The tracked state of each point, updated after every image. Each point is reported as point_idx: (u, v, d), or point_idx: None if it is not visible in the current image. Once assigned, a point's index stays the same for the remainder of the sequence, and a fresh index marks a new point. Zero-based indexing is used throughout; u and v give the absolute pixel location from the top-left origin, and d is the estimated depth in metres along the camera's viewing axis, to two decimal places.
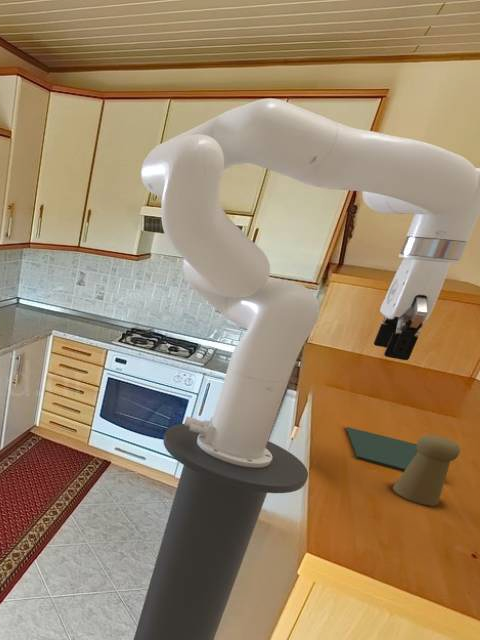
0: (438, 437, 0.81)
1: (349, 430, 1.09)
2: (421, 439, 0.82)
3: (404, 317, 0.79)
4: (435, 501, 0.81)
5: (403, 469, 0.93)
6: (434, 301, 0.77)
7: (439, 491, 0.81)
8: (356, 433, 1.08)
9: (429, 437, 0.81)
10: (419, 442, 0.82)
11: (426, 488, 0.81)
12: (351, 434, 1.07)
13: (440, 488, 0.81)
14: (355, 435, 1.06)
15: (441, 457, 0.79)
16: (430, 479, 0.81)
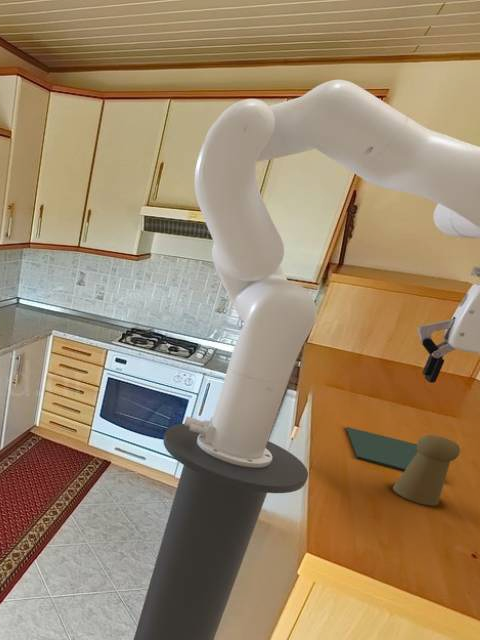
0: (438, 437, 0.81)
1: (349, 430, 1.09)
2: (421, 439, 0.82)
3: None
4: (435, 501, 0.81)
5: (403, 469, 0.93)
6: None
7: (439, 491, 0.81)
8: (356, 433, 1.08)
9: (429, 437, 0.81)
10: (419, 442, 0.82)
11: (426, 488, 0.81)
12: (351, 434, 1.07)
13: (440, 488, 0.81)
14: (355, 435, 1.06)
15: (441, 457, 0.79)
16: (430, 479, 0.81)
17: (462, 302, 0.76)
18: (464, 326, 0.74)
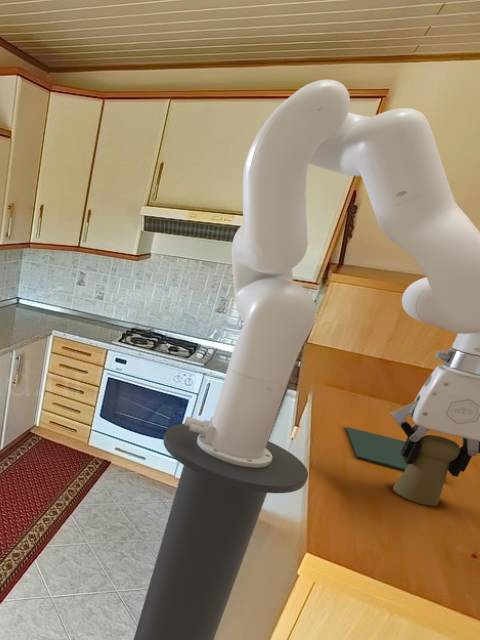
0: (438, 437, 0.81)
1: (349, 430, 1.09)
2: (421, 439, 0.82)
3: None
4: (435, 501, 0.81)
5: (403, 469, 0.93)
6: None
7: (439, 491, 0.81)
8: (356, 433, 1.08)
9: (429, 437, 0.81)
10: None
11: (426, 488, 0.81)
12: (351, 434, 1.07)
13: (440, 488, 0.81)
14: (355, 435, 1.06)
15: (441, 458, 0.79)
16: (430, 479, 0.81)
17: (427, 382, 0.80)
18: (427, 406, 0.78)
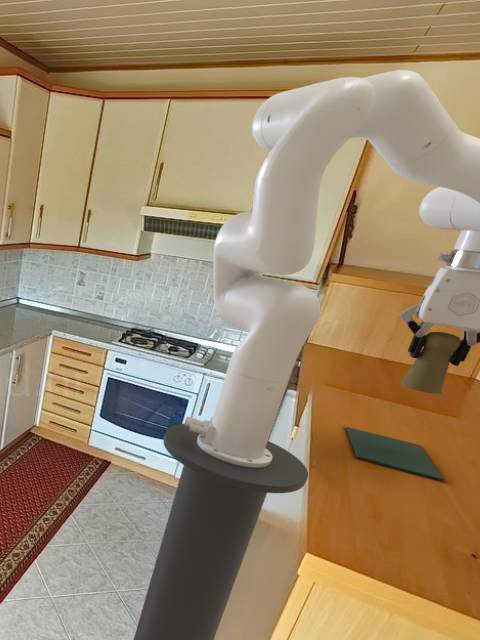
0: (441, 332, 0.91)
1: (349, 430, 1.09)
2: (426, 335, 0.92)
3: None
4: (438, 389, 0.92)
5: (403, 469, 0.93)
6: None
7: (442, 380, 0.91)
8: (356, 433, 1.08)
9: (433, 332, 0.91)
10: None
11: (430, 377, 0.91)
12: (351, 434, 1.07)
13: (443, 377, 0.91)
14: (355, 435, 1.06)
15: (444, 348, 0.90)
16: (434, 369, 0.91)
17: (431, 283, 0.91)
18: (431, 302, 0.89)
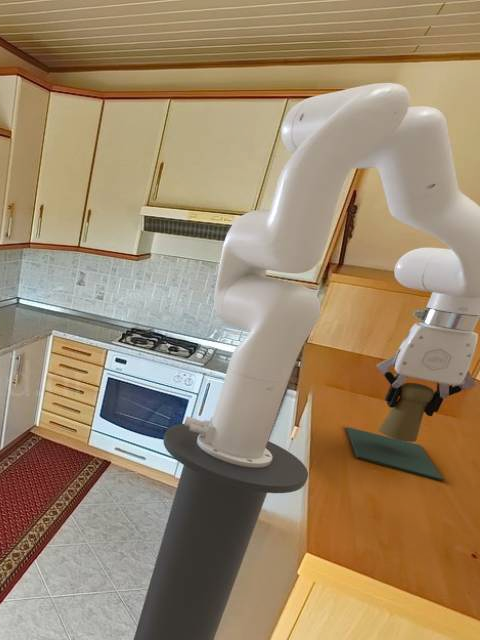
0: (416, 384, 0.96)
1: (349, 430, 1.09)
2: (402, 386, 0.97)
3: None
4: (413, 438, 0.96)
5: (403, 469, 0.93)
6: None
7: (417, 429, 0.96)
8: (356, 433, 1.08)
9: (408, 384, 0.96)
10: (400, 388, 0.97)
11: (406, 426, 0.96)
12: (351, 434, 1.07)
13: (418, 427, 0.96)
14: (355, 435, 1.06)
15: (418, 400, 0.94)
16: (409, 419, 0.96)
17: (406, 337, 0.95)
18: (406, 357, 0.93)
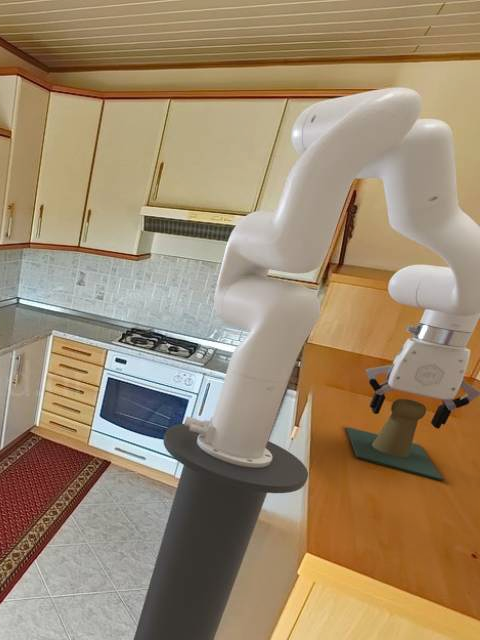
0: (408, 400, 0.97)
1: (349, 430, 1.09)
2: (394, 402, 0.98)
3: None
4: (406, 453, 0.98)
5: (403, 469, 0.93)
6: None
7: (409, 445, 0.97)
8: (356, 433, 1.08)
9: (400, 400, 0.97)
10: (393, 405, 0.98)
11: (398, 442, 0.97)
12: (351, 434, 1.07)
13: (410, 442, 0.97)
14: (355, 435, 1.06)
15: (410, 416, 0.95)
16: (401, 435, 0.97)
17: (400, 352, 0.96)
18: (399, 371, 0.94)
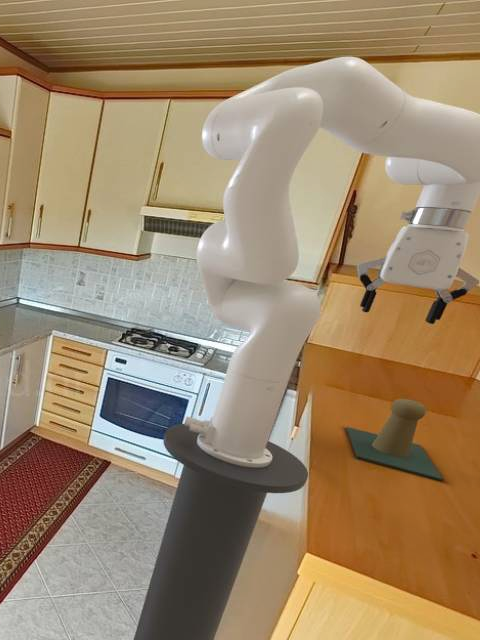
0: (408, 400, 0.97)
1: (349, 430, 1.09)
2: (394, 402, 0.98)
3: None
4: (406, 453, 0.98)
5: (403, 469, 0.93)
6: None
7: (409, 445, 0.97)
8: (356, 433, 1.08)
9: (400, 400, 0.97)
10: (393, 405, 0.98)
11: (398, 442, 0.97)
12: (351, 434, 1.07)
13: (410, 442, 0.97)
14: (355, 435, 1.06)
15: (410, 416, 0.95)
16: (401, 435, 0.97)
17: (393, 243, 0.90)
18: (392, 261, 0.88)
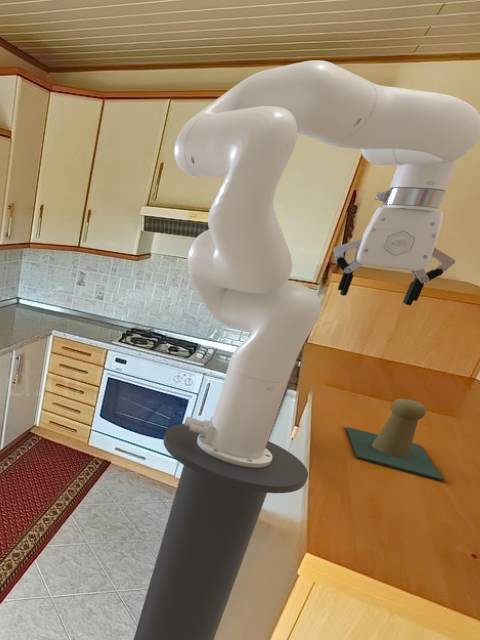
0: (408, 400, 0.97)
1: (349, 430, 1.09)
2: (394, 402, 0.98)
3: None
4: (406, 453, 0.98)
5: (403, 469, 0.93)
6: None
7: (409, 445, 0.97)
8: (356, 433, 1.08)
9: (400, 400, 0.97)
10: (393, 405, 0.98)
11: (398, 442, 0.97)
12: (351, 434, 1.07)
13: (410, 442, 0.97)
14: (355, 435, 1.06)
15: (410, 416, 0.95)
16: (401, 435, 0.97)
17: (369, 224, 0.89)
18: (368, 243, 0.87)
